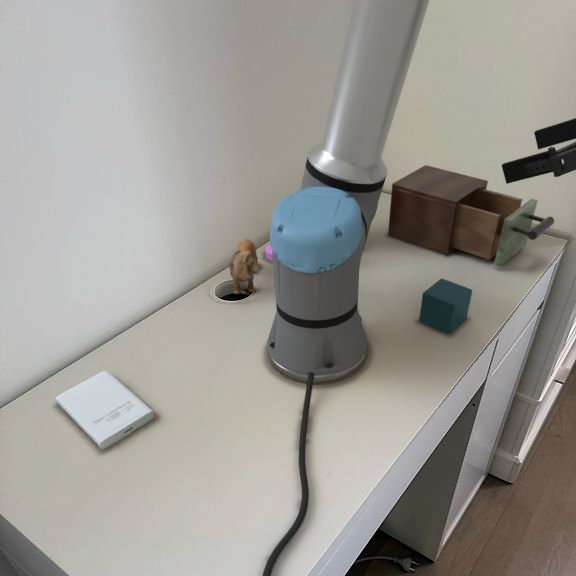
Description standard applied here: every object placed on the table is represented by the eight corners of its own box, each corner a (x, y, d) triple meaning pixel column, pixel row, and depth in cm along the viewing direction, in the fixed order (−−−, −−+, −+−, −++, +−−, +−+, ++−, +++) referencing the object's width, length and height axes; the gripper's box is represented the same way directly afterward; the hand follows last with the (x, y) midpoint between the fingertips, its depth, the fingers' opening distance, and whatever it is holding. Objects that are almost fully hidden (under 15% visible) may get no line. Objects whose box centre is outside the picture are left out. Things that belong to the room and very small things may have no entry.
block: (466, 318, 88) (472, 289, 84) (448, 334, 85) (454, 305, 81) (436, 306, 91) (441, 277, 87) (418, 321, 88) (422, 292, 84)
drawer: (548, 251, 100) (562, 206, 95) (522, 274, 95) (535, 228, 89) (466, 226, 109) (474, 183, 103) (438, 246, 104) (445, 202, 98)
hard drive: (109, 377, 81) (155, 417, 74) (58, 405, 77) (102, 450, 70) (106, 368, 80) (152, 409, 73) (54, 396, 76) (99, 442, 69)
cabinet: (477, 232, 109) (488, 180, 102) (447, 255, 103) (456, 201, 96) (419, 214, 116) (425, 164, 109) (387, 235, 110) (392, 183, 103)
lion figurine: (264, 302, 94) (260, 256, 88) (233, 305, 94) (227, 259, 88) (258, 260, 105) (254, 216, 99) (231, 263, 105) (225, 219, 99)
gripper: (683, 175, 60) (496, 215, 75) (717, 104, 73) (553, 150, 89) (675, 105, 57) (482, 162, 72) (712, 45, 70) (543, 104, 86)
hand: (521, 156), depth 80 cm, fingers open, 13 cm apart
